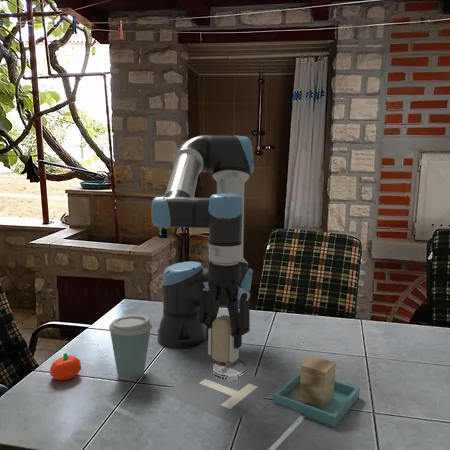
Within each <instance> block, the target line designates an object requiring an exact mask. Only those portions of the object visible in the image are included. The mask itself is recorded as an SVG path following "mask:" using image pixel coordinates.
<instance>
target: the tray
mask: <svg viewBox="0 0 450 450" xmlns="http://www.w3.org/2000/svg"><path fill="white" fill-rule="evenodd" d="M300 373H301V370H299V372H298V373H296V374H295V376H293V377H291V379H290V380H288V381H287V382H286V383H285V384H284V385H283V386H282V387H280V388H279V389H278V390H277V391H276V392H275V393H274V394H273V395H272V397H273V398H272V402H273V403H277V404H278V405H281V406H284V407H287V408H289V409H292V410H294V411H298V412H300V413H301V414H300V416H301V417H305V418H307V419H309V420H312V421H315V422H318V423H320V424H323V425H326V426H328V427H331V428H334V429H335V428H336V427H337V426H338V425H339V423H340V422H341V421H342V420H343V419H344V417H345V416H346V414H348V412H349V411H350V409H352V407H353V406H354V405H355V403H356V402H358V400H359V398H360V389H361V388H360V387H358V386H355V385H352V384H348V383H346V382H342V381H339V380H336V379H335V384H334V398H333V400H332V401H331V402H330V403H329V404H328V405H327V406H326V407H325V408H324V410H322V409H320V408H317V407H314V406H311V404H310V405H308V404H306V403H303V402H300V401H297V400H295V399H291V398H289V397H287V396H285V395H286V394H288V393H289V392H290V391H291V390H292V389H293V388H294V387H295V386H297V384H300Z"/></svg>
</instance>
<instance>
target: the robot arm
mask: <svg viewBox="0 0 450 450" xmlns="http://www.w3.org/2000/svg"><path fill="white" fill-rule="evenodd" d="M172 168H173V169H172V172H171V175H170V178H169V181H168V184H167V188H166V189H165V190H166V191H165V194H164V195H162V196H156V197H154V198H153V199H152V201H151V210H150V214H151V215H150V216H151V222H152V224H153V225H154V227H157V228H166V229H170V228H172V229H173V228H177V229H178V228H180V229H185V228H186V229H187V228H189V229H191V228H192V229H194V228H195V229H208V236H209V237H208V261H209V262H208V268H207V267H203V265H202V263H201V262H199V261H183V262H178V263H173V264H171V265H169V266H167V267H165V268H164V271H163V276H162V277H163V278H162V283H161V285H162V309H163V311H162V312H163V313H162V317H161V321H160V324H159V327H158V330H157V342H158V343H159V344H160V345H162V346H165V347H168V348H170V349H171V348H172V349H191V348H196V347H198V346H200V345H201V344H204V343H205V342H207V340H208V342H207V344H208V345H207V346H208V348H207V355H209V356H212V323H213V321H214V320H215V319H216V318H217V317H218V314H219V309H220V308H222V309H223V308H227V313H228V316H229V317H230V322H231V327H232V331H233V334H231V335H230V361H229V363H234V362H235V361H237V360H238V359H239V354H240V352H239V351H240V348H241V347H242V343H243V342H242V341H243V336H244V335H246V334H247V333H249V332H250V330H251V329H250V320H251V319H250V315H251V314H250V313H251V312H250V310H251V309H250V302H251V301H250V300H251V297H252V291H251V287H252V281H253V280H252V279H253V269H252V268H249V262H248V261H247V260H246V259H245V258H244V233H245V232H244V226H245V223H244V222H245V183H246V182H248V180H249V179H250V174H254V171H255V163H254V152H253V144H252V141H251V139H250V138H249V137H248V136H246V135H245V136H243V135H242V136H241V135H208V134H207V135H206V134H205V135H204V134H203V135H198V136H195V137H192V138H190V139H188V140H186V141H185V142H184V143H182V144H180V146H178V148H177V149H176V151H175V152H174V155H173V158H172ZM201 173H212V178H213V179H214V181H216V183H217V184H216V193H213V194H212V195H210V196H209V197H195V192H196V188H197V184H198V178H199V175H200V174H201Z"/></svg>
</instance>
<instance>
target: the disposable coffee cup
mask: <svg viewBox="0 0 450 450" xmlns="http://www.w3.org/2000/svg"><path fill="white" fill-rule="evenodd" d="M152 325H153V324H152V323H151V320H150V318H149V317H148V316H146V315H141V314H138V315H137V314H134V315H133V314H131V315H126V316H121V317H118V318H115V319H114V320H113V321H112V322H111V323H110V324H109V326H108V327H109V328H108V329H109V333H110V339H111V343H112V350H113V356H114V362H115V369H116V373H117V376H118V377H119V379H121V380H124V381H133V380H138V379H139V378H141V377H143V375H144V372H145V370H146V369H145V368H146V361H147V354H148V347H149V341H150V336H151V335H150V334H151V329H152V328H153V326H152Z"/></svg>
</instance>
